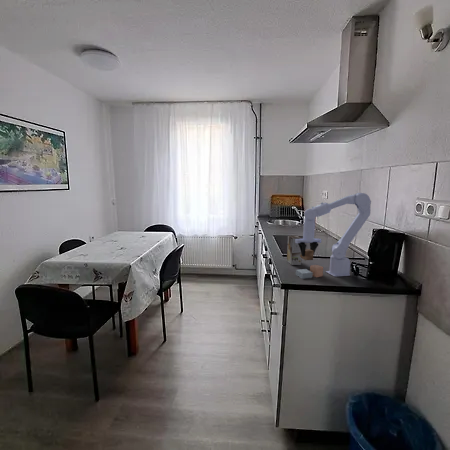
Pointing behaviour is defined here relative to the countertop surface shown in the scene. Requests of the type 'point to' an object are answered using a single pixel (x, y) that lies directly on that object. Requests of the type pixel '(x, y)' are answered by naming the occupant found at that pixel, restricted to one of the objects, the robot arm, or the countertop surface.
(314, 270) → the terracotta block
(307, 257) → the walnut block
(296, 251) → the coffee box
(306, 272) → the plinth block
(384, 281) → the countertop surface
